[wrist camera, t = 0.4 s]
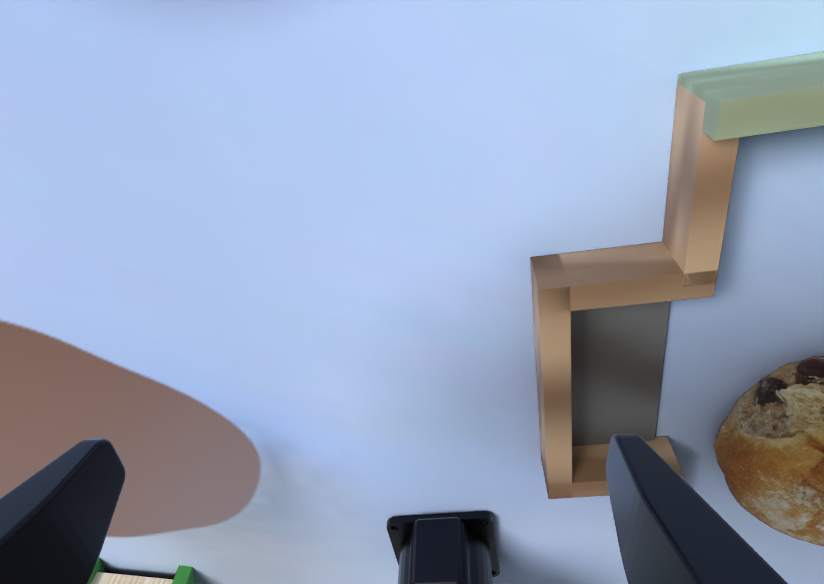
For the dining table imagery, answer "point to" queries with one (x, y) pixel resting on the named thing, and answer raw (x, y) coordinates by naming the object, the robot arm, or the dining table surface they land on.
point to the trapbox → (650, 274)
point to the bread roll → (779, 450)
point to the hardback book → (139, 577)
